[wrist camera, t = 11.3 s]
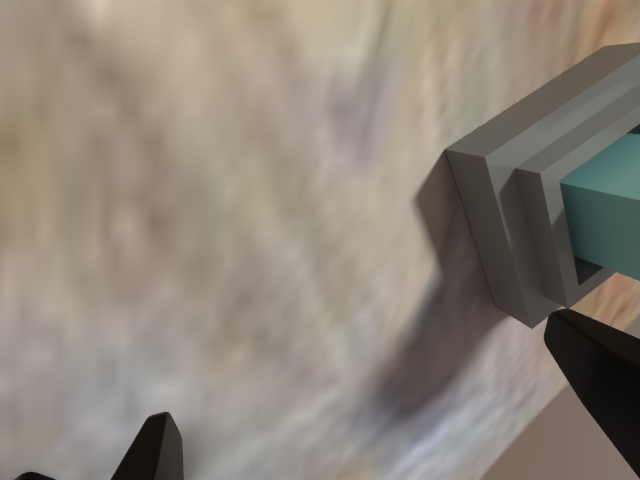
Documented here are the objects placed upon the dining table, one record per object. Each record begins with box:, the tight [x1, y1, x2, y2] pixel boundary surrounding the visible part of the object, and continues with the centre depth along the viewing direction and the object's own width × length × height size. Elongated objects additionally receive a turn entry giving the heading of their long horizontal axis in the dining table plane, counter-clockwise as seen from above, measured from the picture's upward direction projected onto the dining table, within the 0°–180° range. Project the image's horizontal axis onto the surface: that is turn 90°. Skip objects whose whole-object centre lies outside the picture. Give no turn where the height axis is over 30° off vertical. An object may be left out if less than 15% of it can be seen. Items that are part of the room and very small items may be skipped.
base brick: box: [445, 43, 640, 329], centre depth 24 cm, size 12×12×4 cm
